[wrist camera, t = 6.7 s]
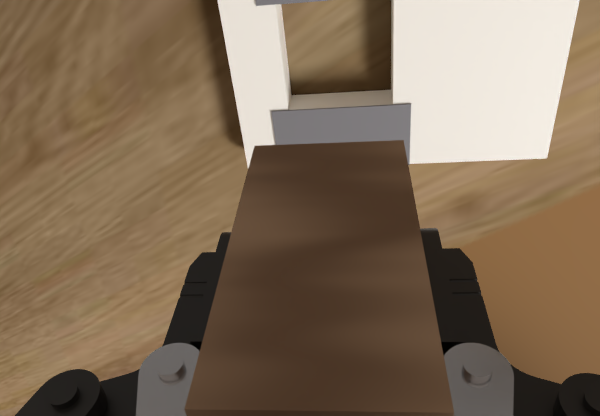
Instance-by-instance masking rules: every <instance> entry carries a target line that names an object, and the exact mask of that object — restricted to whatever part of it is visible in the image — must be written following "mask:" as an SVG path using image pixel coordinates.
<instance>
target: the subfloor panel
mask: <svg viewBox="0 0 600 416" xmlns="http://www.w3.org/2000/svg"><path fill="white" fill-rule="evenodd" d="M314 1H326V0H218V6H219V11H220V17H221V22H222V28H223V33H224V39H225V44H226V50H227V55H228V61H229V66H230V72H231V77H232V83H233V88H234V94H235V99H236V105H237V110H238V116H239V121H240V127H241V132H242V138H243V143H244V149H245V154H246V160H247V165H248V168H249V165H250V161H251V157H252V153H253V150H254V146H260V145H286V144H313V143H339V142H366V141H392V140H404V145H405V151H406V156H407V161H408V165H409V164H415V163H441V162H466V161H492V160H517V159H543V158H547V156H548V151H549V146H550V141H551V136H552V132H553V127H554V122H555V117H556V112H557V107H558V102H559V97H560V93H561V88H562V83H563V78H564V73H565V68H566V63H567V59H568V54H569V49H570V44H571V39H572V34H573V29H574V25H575V20H576V15H577V10H578V5H579V0H391V90H376V91H359V92H341V93H323V94H305V95H292V94H291V85H290V77H289V68H288V59H287V50H286V42H285V33H284V24H283V16H282V7H281V4H288V3H301V2H314Z"/></svg>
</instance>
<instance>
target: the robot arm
mask: <svg viewBox="0 0 600 416" xmlns="http://www.w3.org/2000/svg"><path fill="white" fill-rule="evenodd" d="M420 231H421V237H422V242H423V247H424V253H425V258H426V264H427V269H428V274H429V280H430V285H431V290H432V296H433V301H434V307H435V312H436V317H437V323H438V328H439V334H440V339H441V344H442V350H443V355H444V360H445V366H446V371H447V377H448V382H449V387H450V393H451V398H452V403H453V409H454V416H600V375H597V374H590V373H580V374H576V375H573V376H570V377H569V378H567V379H566V380H565V381H564V382H563V383H562V384H559V383H555V382H551V381H547V380H544V379H540V378H536V377H533V376H530V375H528V374H526V373H523V372H521V371H519V370H518V369H516V368H515V367H513V366H512V365H511V364H510V363H509V362H508V360H507V359H506V358H505V357H504V356H503V355H502V354H501V353H500V352H499V350H498V348H497V346H496V343H495V339H494V336H493V332H492V329H491V326H490V322H489V319H488V315H487V312H486V308H485V304H484V301H483V297H482V296H481V290H480V287H479V283H478V282H477V277H476V273H475V270H474V266H473V263H472V262H471V261H470V259H469V258H468V257H467V256H466V255H465V254H464V253H463V252H462V250H461V249H460V248H454V249H442V246H441V241H440V237H439V232H438V229H437V228H428V229H420ZM230 236H231V232H224V233H222V234H221V236H220V239H219V242H218V246H217V249H216V252H206V253H201V254H200V256H199V257H198V258H197V259H196V260H195V261H194V262H193V263H192V264H191V266H190V267H189V270H188V273H187V276H186V279H185V285H183V288H182V291H181V294H180V298H179V300H178V303H177V305H176V308H175V311H174V314H173V317H172V320H171V323H170V326H169V329H168V332H167V335H166V338H165V341H164V344H163V346H162V347H160V348H158V349H157V350H155V351H154V352H152V353H151V354H150V355H149V356H148V357H147V358H146V359H145V360H144V362H143V363H142V365H141V367H140V369H139V370H137V371H135V372H132V373H129V374H126V375H122V376H119V377H115V378H112V379H108V380H104V381H101V382H99V380H98V378H97V377H96V375H94V374H93V373H92V372H90V371H87V370H82V369H75V370H69V371H66V372H63V373H60V374H58V375H56V376H54V377H53V378H51V379H50V380H48V381H47V382H46V383H45V384H44V385H43V386H42V387H41V388H40V389H39V390H38V391H37V392H36V393H35V394H34V395H33V396H32V397H31V399H30V400H29V401H28V402H27V403H26V404H25V405H24V406H23V407H22V408H21V410H20V411H19V412H18V413H17V414H16V415H15V416H187V415H186V413H185V410H184V409H185V405H186V401H187V397H188V394H189V390H190V386H191V382H192V379H193V375H194V371H195V367H196V364H197V360H198V356H199V352H200V349H201V345H202V341H203V337H204V334H205V330H206V326H207V322H208V319H209V315H210V311H211V307H212V304H213V300H214V296H215V292H216V289H217V285H218V281H219V277H220V274H221V270H222V266H223V262H224V258H225V255H226V251H227V247H228V243H229V240H230Z"/></svg>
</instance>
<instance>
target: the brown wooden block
mask: <svg viewBox="0 0 600 416" xmlns="http://www.w3.org/2000/svg"><path fill="white" fill-rule="evenodd" d="M184 410H185V413H186V415H187V416H454V409H453V403H452V398H451V393H450V387H449V382H448V377H447V371H446V366H445V360H444V355H443V350H442V344H441V339H440V334H439V328H438V323H437V317H436V312H435V307H434V301H433V296H432V290H431V285H430V280H429V274H428V269H427V264H426V258H425V253H424V247H423V242H422V237H421V231H420V226H419V221H418V215H417V210H416V204H415V199H414V194H413V188H412V183H411V178H410V172H409V167H408V161H407V156H406V151H405V145H404V140H392V141H366V142H339V143H313V144H286V145H260V146H254V150H253V153H252V157H251V161H250V165H249V168H248V172H247V176H246V180H245V183H244V187H243V191H242V195H241V198H240V202H239V206H238V210H237V213H236V217H235V221H234V225H233V228H232V232H231V236H230V240H229V243H228V247H227V251H226V255H225V258H224V262H223V266H222V270H221V274H220V277H219V281H218V285H217V289H216V292H215V296H214V300H213V304H212V307H211V311H210V315H209V319H208V322H207V326H206V330H205V334H204V337H203V341H202V345H201V349H200V352H199V356H198V360H197V364H196V367H195V371H194V375H193V379H192V382H191V386H190V390H189V394H188V397H187V401H186V405H185V409H184Z"/></svg>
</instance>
